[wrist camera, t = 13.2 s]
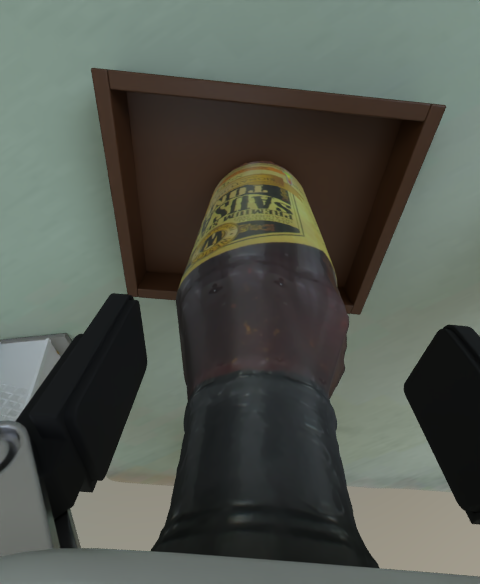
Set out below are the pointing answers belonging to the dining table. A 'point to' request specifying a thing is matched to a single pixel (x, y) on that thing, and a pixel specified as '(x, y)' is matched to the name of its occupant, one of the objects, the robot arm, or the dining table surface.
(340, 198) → the tray
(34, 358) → the skyscraper
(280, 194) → the sauce bottle
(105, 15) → the dining table surface
